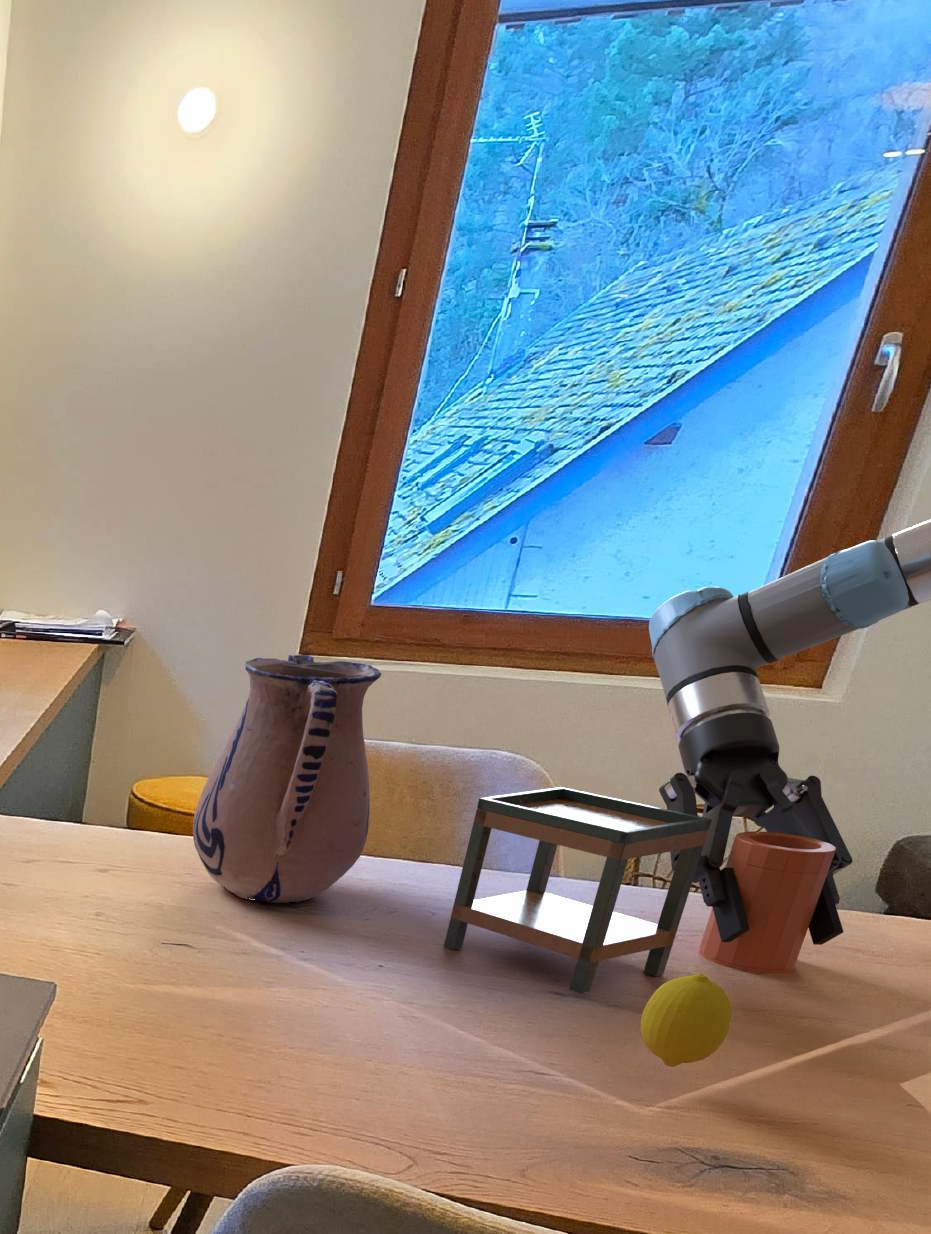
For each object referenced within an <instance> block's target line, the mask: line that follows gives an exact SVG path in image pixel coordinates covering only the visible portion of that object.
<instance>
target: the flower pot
mask: <svg viewBox="0 0 931 1234" xmlns="http://www.w3.org/2000/svg"><path fill="white" fill-rule="evenodd" d="M730 848H731V849H730V851H729V855H728V858H727V861H726V864H725V867H726V868H733V870H734V874H735V877H736V881H737V885H738V888H739V892H740V895H741V899H742V903H743V906H744V910H745V914H746V917H747V921H748V925H749V928H750V930H748V931H747V932H745V933H744V934H742V935H740V936H739V937H737V938H736V939H734V940H732V941H731V942H722V941H721V938H720V934H719V930H718V926H717V923H716V919H715V915H714V911H713V907H711V911H710V914H709V917H708V920H707V923H706V925H705V929H704V933H703V935H702V939H701V941H700V945H699V951H698V952H699V954H700V955H701V956H702V957H703V958H705V959H706V960H708V961H710V962H712V963H714V964H717V965H720V966H723V967H726V968H729V969H733V970H736V971H742V972H747V973H754V974H762V975H781V974H786V973H790V972H792V971H794V969H795V966H796V964H797V961H798V959H799V956H800V952H801V949H802V947H803V943H804V941H805V938H806V935H807V933H808V931H809V928H808V927H809V924H810V921H811V918H812V916H813V913H814V910H815V907H816V904H817V901H818V899H819V896H820V893H821V890H822V887H823V884H824V882H825V879H826V876H827V873H828V870H829V867H830V865H831V862H832V859H833V856H834V853H835V850H836V847H835V846H833V845H831V844H829V843H827V842H824V841H820V840H817V839H813V838H808V837H804V836H798V835H791V834H784V833H776V832H767V831H761V830H759V831H758V830H757V831H753V830H752V831H749V830H747V831H742V832H738V833H736V835H735V836H734V839H733V843H732V845H731V847H730Z"/></svg>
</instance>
